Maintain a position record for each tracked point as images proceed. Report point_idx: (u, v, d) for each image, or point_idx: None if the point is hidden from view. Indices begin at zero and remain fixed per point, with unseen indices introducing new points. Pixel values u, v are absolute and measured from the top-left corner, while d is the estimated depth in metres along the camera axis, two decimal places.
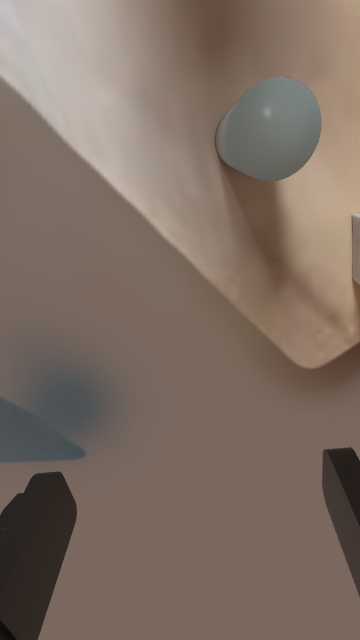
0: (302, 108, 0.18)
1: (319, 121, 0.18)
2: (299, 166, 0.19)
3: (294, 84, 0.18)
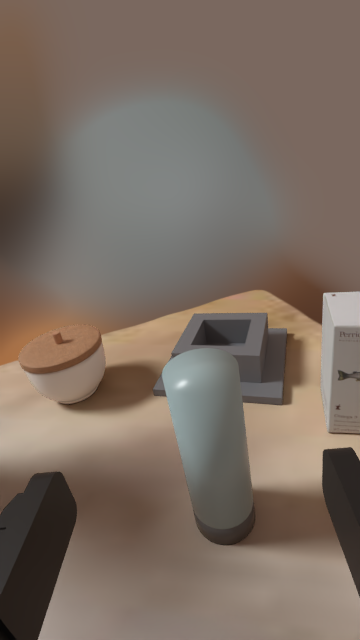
0: (193, 355, 0.24)
1: (207, 348, 0.24)
2: (233, 358, 0.23)
3: (176, 358, 0.24)
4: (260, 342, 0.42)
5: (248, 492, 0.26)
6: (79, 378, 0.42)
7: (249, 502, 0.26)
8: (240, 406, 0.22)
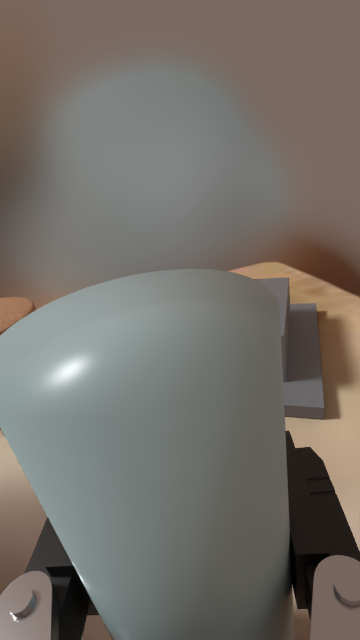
0: (124, 286, 0.08)
1: (170, 271, 0.08)
2: (253, 284, 0.06)
3: (72, 296, 0.08)
4: (283, 316, 0.26)
5: None
6: None
7: None
8: (284, 456, 0.06)
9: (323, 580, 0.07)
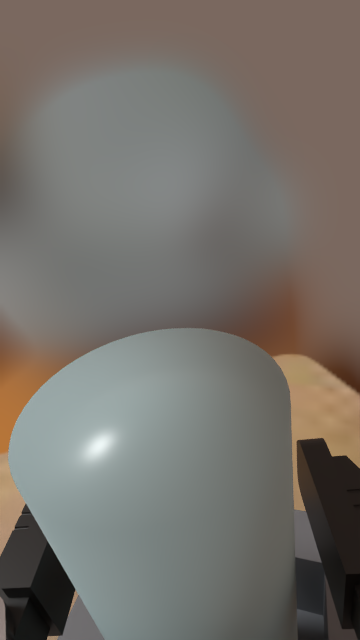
0: (138, 348, 0.08)
1: (181, 329, 0.08)
2: (263, 357, 0.07)
3: (89, 357, 0.08)
4: None
5: None
6: None
7: None
8: (292, 522, 0.06)
9: None
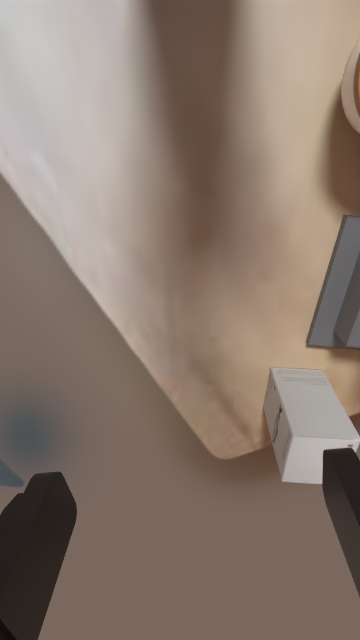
0: None
1: None
2: None
3: None
4: None
5: None
6: (356, 126, 0.30)
7: None
8: None
9: None
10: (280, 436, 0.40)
